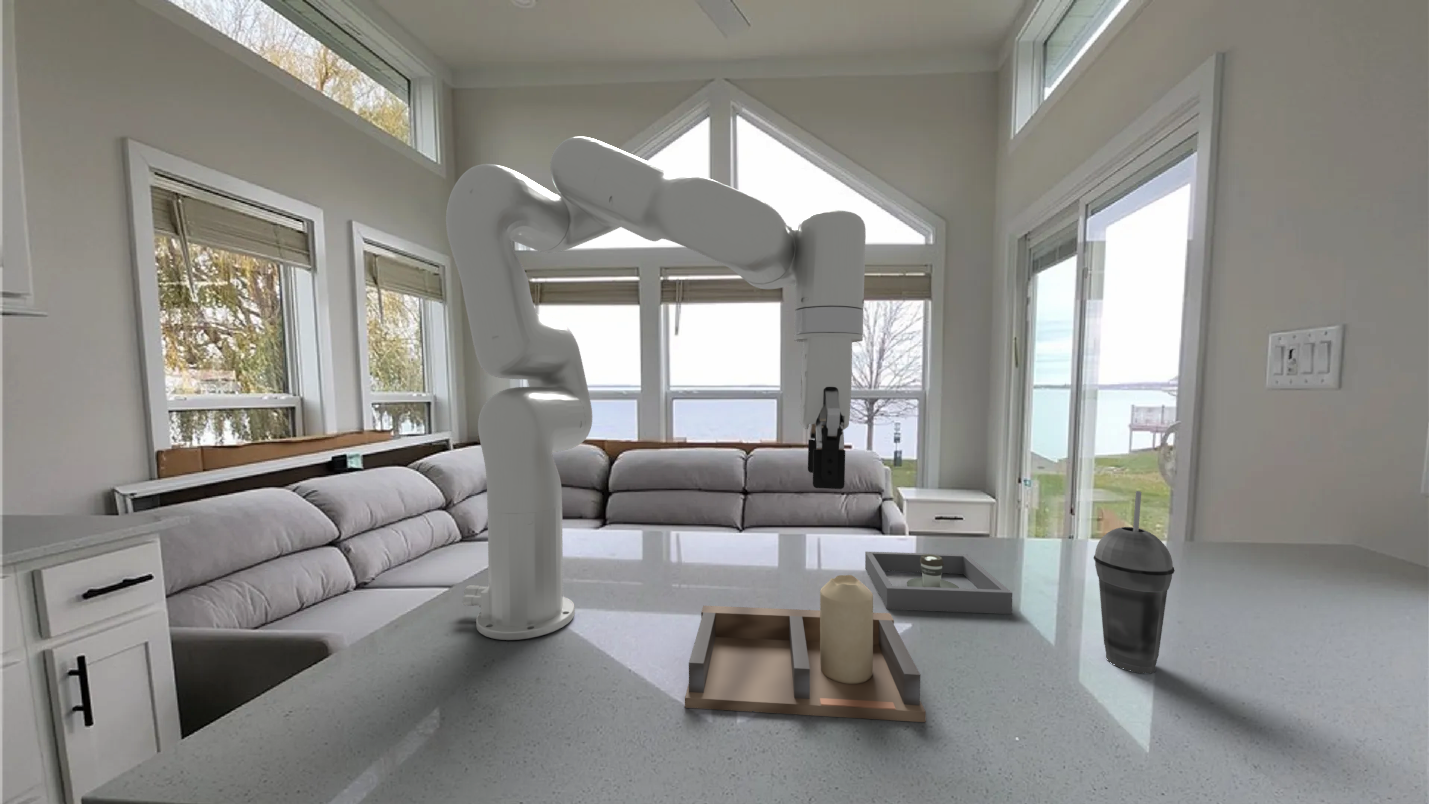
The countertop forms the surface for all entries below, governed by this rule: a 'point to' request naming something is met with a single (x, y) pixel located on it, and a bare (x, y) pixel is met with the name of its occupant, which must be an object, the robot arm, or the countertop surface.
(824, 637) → the candle
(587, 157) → the robot arm
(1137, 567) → the beverage cup
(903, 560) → the grey shallow square tray
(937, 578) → the coffee cup
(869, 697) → the wooden divided tray
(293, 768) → the countertop surface
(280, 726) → the countertop surface
